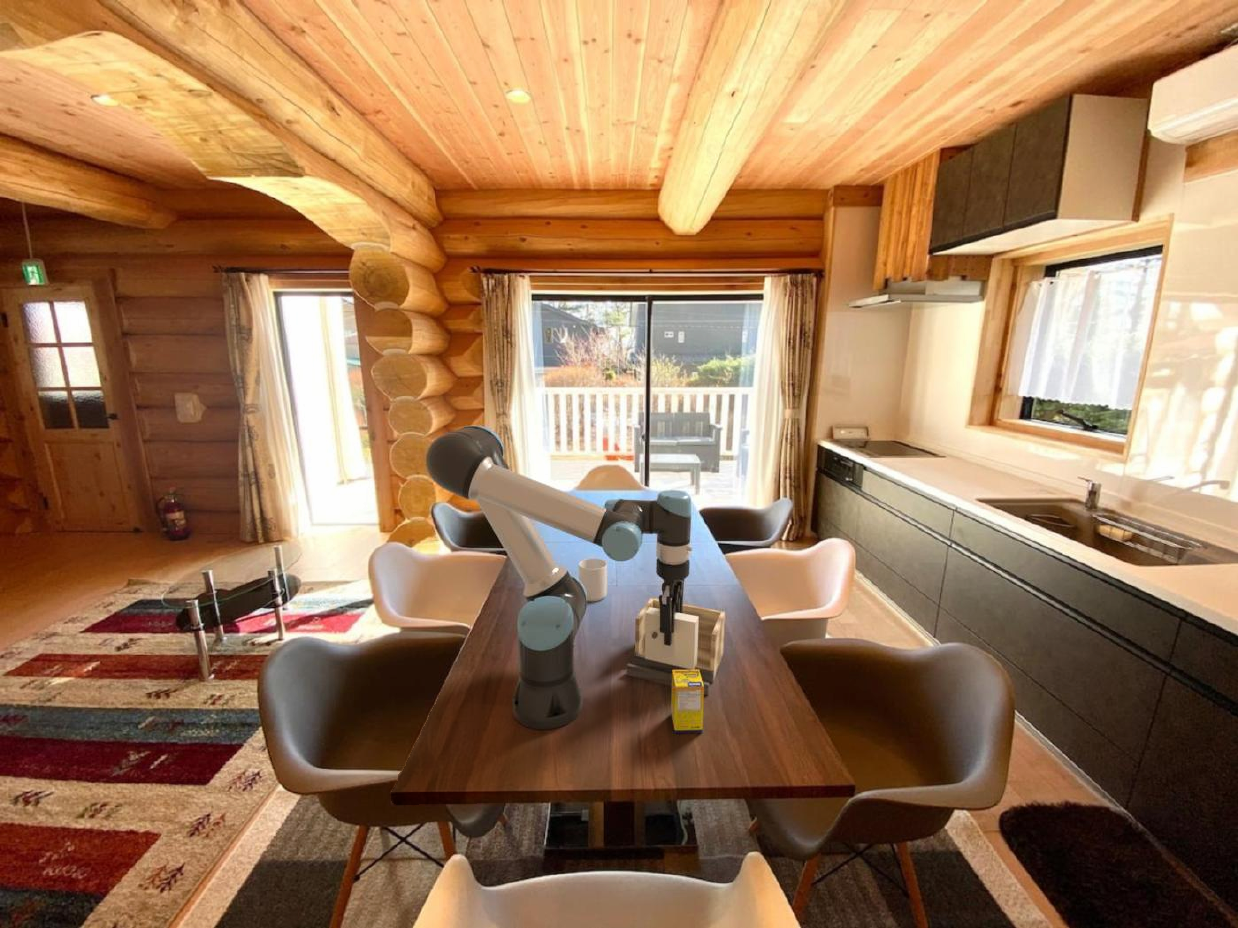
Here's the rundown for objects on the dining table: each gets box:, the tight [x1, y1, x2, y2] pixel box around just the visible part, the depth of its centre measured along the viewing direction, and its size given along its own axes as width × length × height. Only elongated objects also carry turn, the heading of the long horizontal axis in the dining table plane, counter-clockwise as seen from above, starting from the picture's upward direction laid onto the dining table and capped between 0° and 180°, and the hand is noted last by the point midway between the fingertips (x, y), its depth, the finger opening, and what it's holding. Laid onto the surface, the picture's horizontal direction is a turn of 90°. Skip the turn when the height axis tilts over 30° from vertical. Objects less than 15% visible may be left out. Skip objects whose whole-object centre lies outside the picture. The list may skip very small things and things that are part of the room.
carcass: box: [626, 597, 727, 696], centre depth 128 cm, size 18×20×12 cm
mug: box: [578, 557, 608, 602], centre depth 166 cm, size 12×9×11 cm
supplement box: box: [670, 669, 705, 734], centre depth 108 cm, size 6×6×11 cm
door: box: [645, 607, 699, 670], centre depth 122 cm, size 4×12×12 cm, turn 68°
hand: (670, 651), depth 123 cm, fingers closed on door, 3 cm apart
